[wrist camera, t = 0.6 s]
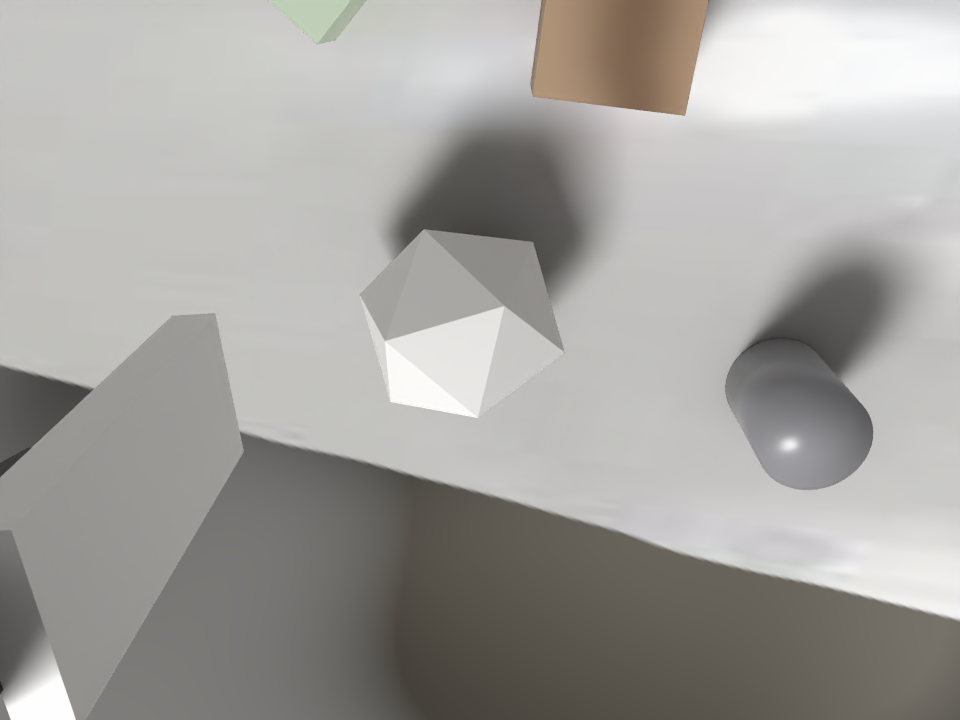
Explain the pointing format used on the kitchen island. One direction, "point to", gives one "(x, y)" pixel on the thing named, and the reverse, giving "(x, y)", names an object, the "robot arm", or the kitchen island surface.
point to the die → (461, 321)
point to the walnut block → (618, 52)
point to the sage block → (319, 16)
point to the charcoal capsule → (798, 414)
